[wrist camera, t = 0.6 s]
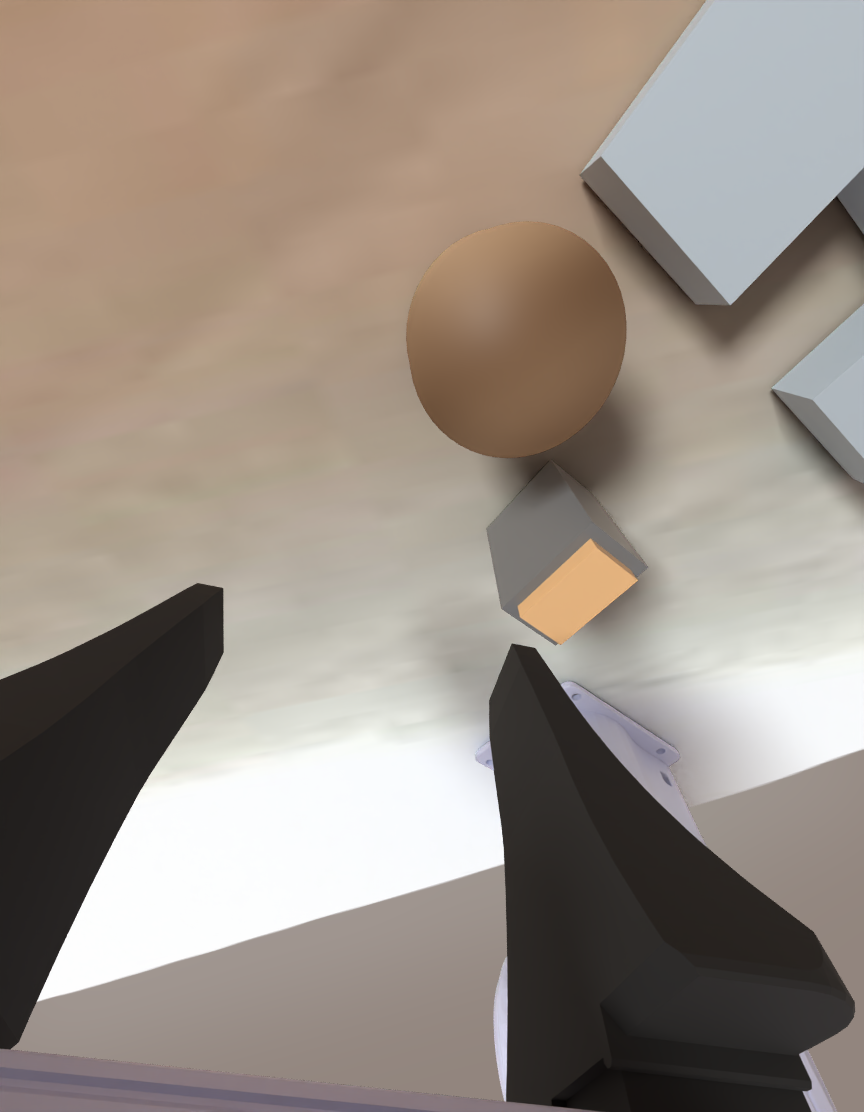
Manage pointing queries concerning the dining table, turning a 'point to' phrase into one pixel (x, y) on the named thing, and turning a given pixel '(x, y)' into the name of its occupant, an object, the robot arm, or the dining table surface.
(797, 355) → the dining table surface
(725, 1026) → the robot arm
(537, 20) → the dining table surface
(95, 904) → the dining table surface
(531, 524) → the grey rectangular block
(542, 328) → the tan wooden yo-yo
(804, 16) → the board
